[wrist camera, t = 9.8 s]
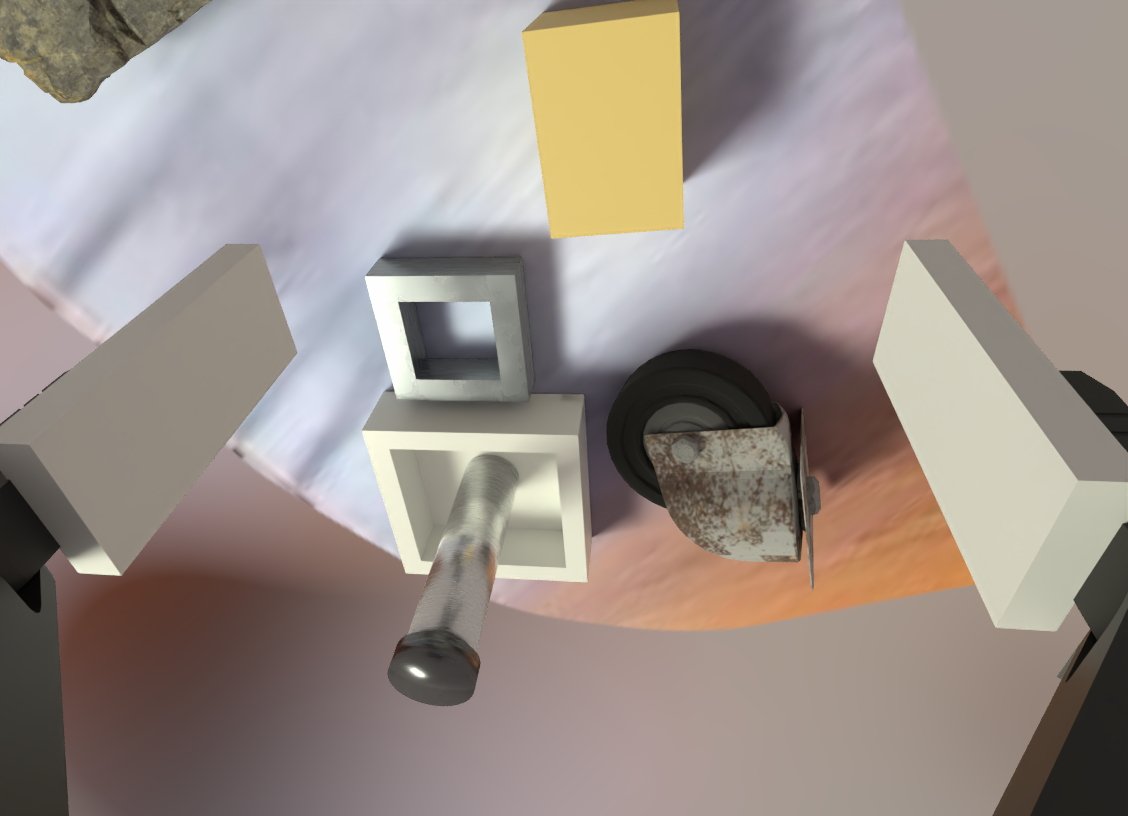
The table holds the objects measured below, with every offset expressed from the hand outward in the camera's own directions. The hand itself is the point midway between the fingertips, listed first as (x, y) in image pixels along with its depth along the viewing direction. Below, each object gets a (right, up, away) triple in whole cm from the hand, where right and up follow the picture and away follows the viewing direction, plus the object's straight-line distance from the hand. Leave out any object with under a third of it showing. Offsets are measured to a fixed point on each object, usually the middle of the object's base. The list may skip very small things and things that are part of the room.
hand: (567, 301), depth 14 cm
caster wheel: (+8, -3, +22) cm, 24 cm away
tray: (-4, -6, +26) cm, 27 cm away
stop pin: (-4, -6, +25) cm, 26 cm away
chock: (+2, +10, +13) cm, 17 cm away
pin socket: (-5, +2, +20) cm, 21 cm away
